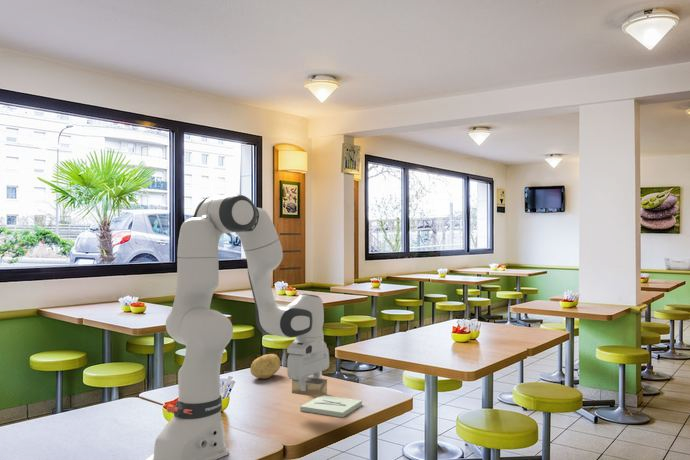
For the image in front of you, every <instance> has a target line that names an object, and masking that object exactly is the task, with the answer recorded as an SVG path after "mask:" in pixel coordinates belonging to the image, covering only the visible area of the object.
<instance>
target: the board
mask: <svg viewBox="0 0 690 460" xmlns="http://www.w3.org/2000/svg"><path fill="white" fill-rule="evenodd" d="M362 405H363V400H361V399H355V398H344V397H338V396H330V395H323V396H321V397H315V398H313V399H312V400H309V401H308V402H306V403H304V404H302V405H300V407H299V411H300V412H304V413H305V412H306V413H313V414H319V415H325V416H332V417H339V418H344V417H345V416H348V415H349V414H350V413H352V412H353V411H355V410H356V409H358V408H359V407H361V406H362Z"/></svg>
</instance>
